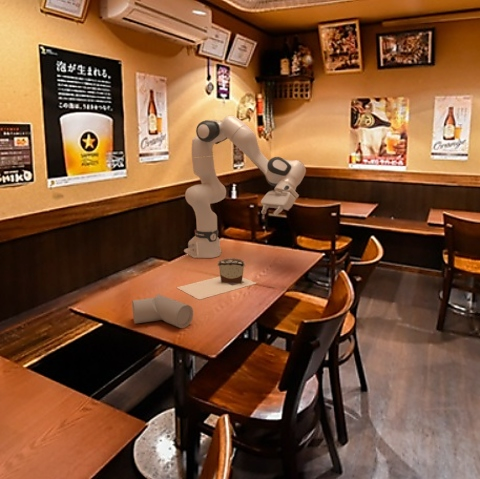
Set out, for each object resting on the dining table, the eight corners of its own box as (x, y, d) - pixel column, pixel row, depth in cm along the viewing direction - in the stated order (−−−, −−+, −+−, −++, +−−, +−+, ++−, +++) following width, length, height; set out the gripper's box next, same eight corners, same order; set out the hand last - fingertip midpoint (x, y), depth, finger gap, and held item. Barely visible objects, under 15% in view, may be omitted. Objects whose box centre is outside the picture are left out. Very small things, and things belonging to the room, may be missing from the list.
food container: (246, 279, 209) (246, 258, 207) (245, 283, 203) (245, 262, 201) (219, 278, 210) (219, 257, 208) (217, 283, 204) (217, 261, 202)
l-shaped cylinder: (184, 305, 177) (132, 312, 170) (185, 282, 172) (131, 288, 166) (195, 333, 162) (138, 342, 155) (196, 309, 157) (138, 317, 151)
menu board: (176, 287, 199) (176, 287, 199) (232, 273, 218) (232, 273, 218) (199, 299, 186) (199, 299, 185) (256, 283, 204) (256, 283, 204)
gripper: (267, 186, 223) (252, 208, 220) (293, 187, 206) (277, 211, 203) (275, 193, 226) (260, 216, 223) (301, 196, 209) (285, 220, 206)
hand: (268, 214), depth 213 cm, fingers open, 8 cm apart
